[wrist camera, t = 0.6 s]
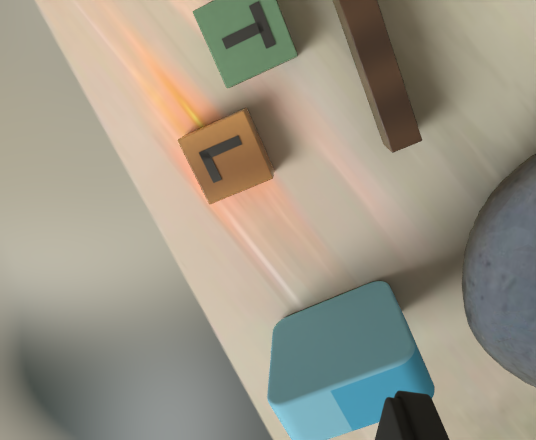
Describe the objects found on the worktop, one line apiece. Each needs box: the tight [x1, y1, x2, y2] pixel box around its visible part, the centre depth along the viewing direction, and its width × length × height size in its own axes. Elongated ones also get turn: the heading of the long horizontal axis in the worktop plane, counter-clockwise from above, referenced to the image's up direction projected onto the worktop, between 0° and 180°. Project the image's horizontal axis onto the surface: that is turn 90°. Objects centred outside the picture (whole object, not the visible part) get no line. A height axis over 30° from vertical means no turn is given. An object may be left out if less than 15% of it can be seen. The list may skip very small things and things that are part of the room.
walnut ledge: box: [333, 0, 422, 152], centre depth 33 cm, size 16×2×4 cm, turn 23°
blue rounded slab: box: [267, 281, 434, 440], centre depth 37 cm, size 12×4×12 cm, turn 117°
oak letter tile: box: [178, 108, 274, 204], centre depth 37 cm, size 6×6×3 cm
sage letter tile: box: [193, 0, 298, 88], centre depth 34 cm, size 6×6×3 cm
